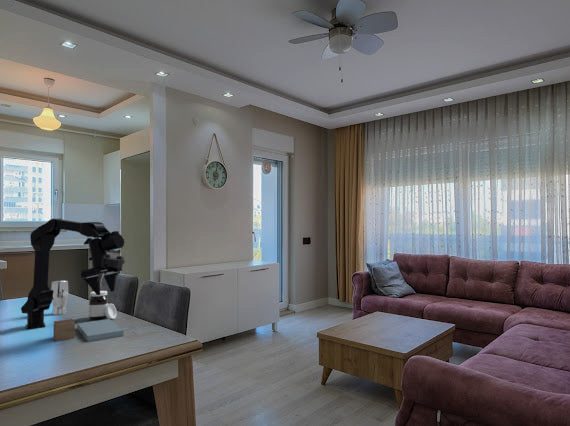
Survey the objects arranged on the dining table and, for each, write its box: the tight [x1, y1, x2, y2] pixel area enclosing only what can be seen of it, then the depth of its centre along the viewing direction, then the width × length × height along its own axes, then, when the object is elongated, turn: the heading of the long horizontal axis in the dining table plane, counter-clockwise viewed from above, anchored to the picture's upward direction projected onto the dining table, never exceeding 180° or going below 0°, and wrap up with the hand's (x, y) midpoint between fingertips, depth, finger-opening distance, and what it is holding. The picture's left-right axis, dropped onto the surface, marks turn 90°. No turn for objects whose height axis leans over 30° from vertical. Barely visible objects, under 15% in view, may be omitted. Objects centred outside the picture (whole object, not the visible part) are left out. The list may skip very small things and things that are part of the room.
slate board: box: [76, 318, 124, 343], centre depth 148 cm, size 22×12×2 cm, turn 37°
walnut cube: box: [53, 318, 76, 342], centre depth 140 cm, size 6×6×6 cm
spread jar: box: [88, 290, 118, 321], centre depth 170 cm, size 12×11×12 cm
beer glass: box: [50, 279, 69, 316], centre depth 180 cm, size 7×7×15 cm
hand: (105, 293), depth 148 cm, fingers open, 9 cm apart
